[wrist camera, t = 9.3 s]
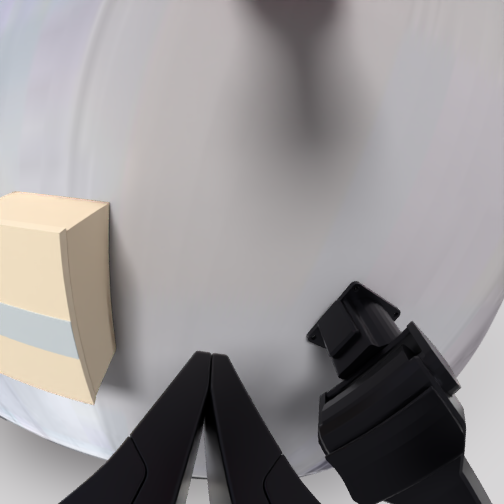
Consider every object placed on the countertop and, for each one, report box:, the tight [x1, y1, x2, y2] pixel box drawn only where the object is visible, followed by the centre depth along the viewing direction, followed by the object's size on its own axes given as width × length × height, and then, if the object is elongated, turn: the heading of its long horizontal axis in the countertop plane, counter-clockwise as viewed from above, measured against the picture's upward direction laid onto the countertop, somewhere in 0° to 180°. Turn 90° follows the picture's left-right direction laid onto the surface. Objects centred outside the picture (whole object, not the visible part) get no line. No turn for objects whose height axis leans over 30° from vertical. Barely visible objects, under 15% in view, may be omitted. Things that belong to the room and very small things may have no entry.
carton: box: [0, 191, 116, 395], centre depth 17 cm, size 10×14×6 cm
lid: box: [0, 219, 96, 405], centre depth 14 cm, size 10×14×1 cm
